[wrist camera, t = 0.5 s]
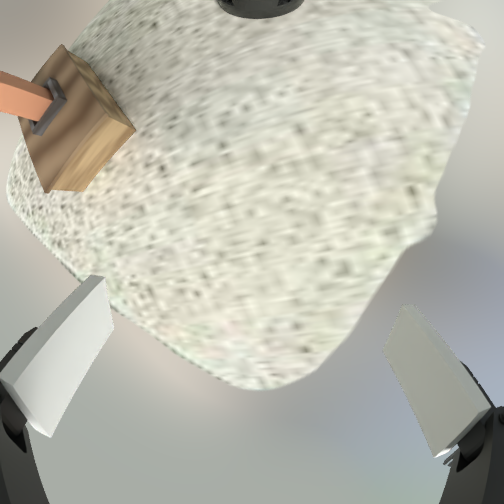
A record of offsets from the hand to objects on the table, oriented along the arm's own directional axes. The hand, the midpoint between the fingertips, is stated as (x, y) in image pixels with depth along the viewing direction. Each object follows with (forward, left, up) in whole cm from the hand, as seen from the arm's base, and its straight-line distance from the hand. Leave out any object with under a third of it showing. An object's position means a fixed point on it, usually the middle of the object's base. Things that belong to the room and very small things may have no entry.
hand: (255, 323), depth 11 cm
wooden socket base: (-19, -37, -25) cm, 48 cm away
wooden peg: (-19, -37, -16) cm, 44 cm away
